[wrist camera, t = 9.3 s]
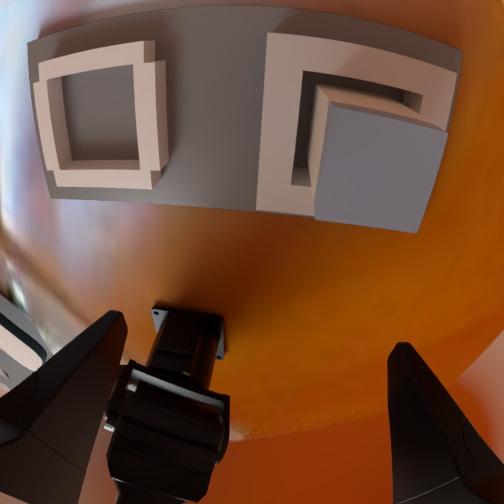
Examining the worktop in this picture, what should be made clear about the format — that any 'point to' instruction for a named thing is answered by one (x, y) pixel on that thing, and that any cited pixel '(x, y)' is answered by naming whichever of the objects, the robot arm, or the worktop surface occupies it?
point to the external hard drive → (20, 345)
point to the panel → (214, 101)
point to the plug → (371, 159)
